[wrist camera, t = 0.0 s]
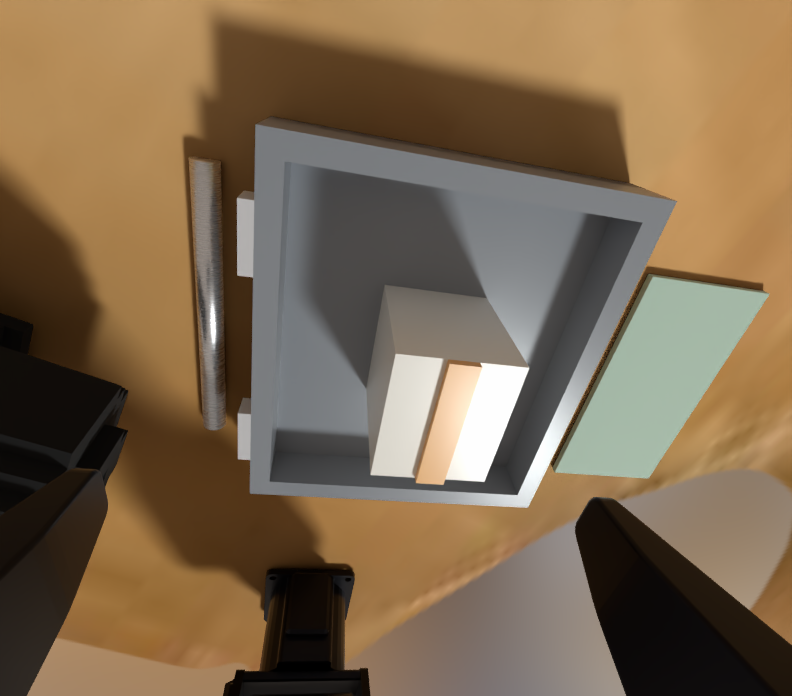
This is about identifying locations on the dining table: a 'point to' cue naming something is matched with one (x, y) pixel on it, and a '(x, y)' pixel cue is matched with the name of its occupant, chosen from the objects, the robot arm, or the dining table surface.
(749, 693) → the robot arm
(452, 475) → the block
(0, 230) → the dining table surface
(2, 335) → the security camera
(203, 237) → the stay rod
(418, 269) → the grey flat square tray
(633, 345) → the pad
